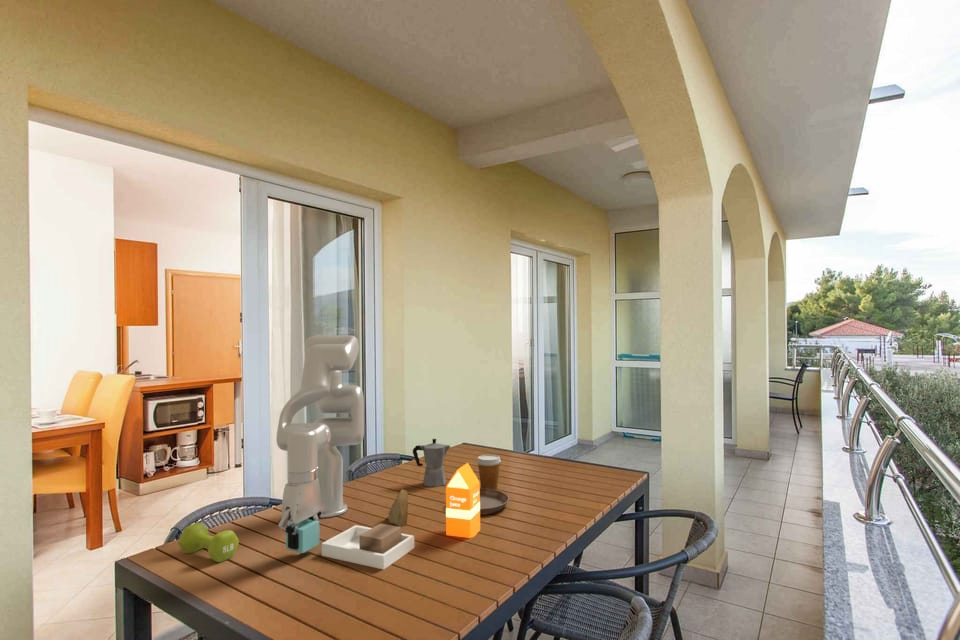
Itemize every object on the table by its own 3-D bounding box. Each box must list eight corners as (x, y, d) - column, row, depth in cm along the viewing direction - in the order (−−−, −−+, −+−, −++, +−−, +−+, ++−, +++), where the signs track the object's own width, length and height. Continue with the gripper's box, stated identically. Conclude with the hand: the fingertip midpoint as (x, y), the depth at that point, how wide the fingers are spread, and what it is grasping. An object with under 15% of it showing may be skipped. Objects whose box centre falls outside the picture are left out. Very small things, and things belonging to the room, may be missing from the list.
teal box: (285, 548, 130) (285, 526, 130) (302, 539, 135) (302, 518, 135) (302, 553, 127) (302, 530, 127) (319, 543, 133) (319, 521, 133)
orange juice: (480, 529, 149) (479, 463, 149) (470, 541, 140) (469, 470, 141) (456, 526, 151) (456, 461, 152) (445, 537, 143) (444, 468, 144)
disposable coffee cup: (476, 485, 195) (475, 454, 195) (499, 484, 195) (499, 454, 196) (478, 492, 185) (477, 460, 186) (503, 491, 186) (502, 459, 186)
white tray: (321, 558, 130) (321, 543, 130) (355, 539, 143) (355, 525, 143) (383, 572, 121) (383, 556, 122) (414, 550, 134) (414, 535, 134)
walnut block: (359, 558, 128) (359, 535, 128) (380, 545, 136) (380, 523, 136) (381, 563, 125) (381, 539, 125) (401, 549, 133) (401, 527, 133)
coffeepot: (449, 479, 204) (448, 435, 205) (452, 485, 195) (452, 440, 195) (411, 481, 200) (411, 437, 201) (413, 488, 191) (413, 442, 192)
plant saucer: (517, 513, 163) (517, 503, 163) (457, 520, 157) (457, 510, 157) (497, 495, 183) (497, 486, 183) (443, 500, 177) (443, 491, 177)
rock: (414, 522, 149) (420, 507, 159) (396, 500, 149) (404, 486, 159) (387, 542, 150) (395, 525, 160) (369, 520, 150) (379, 505, 160)
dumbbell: (241, 555, 133) (241, 528, 133) (213, 567, 126) (214, 539, 126) (203, 544, 140) (203, 518, 141) (175, 555, 133) (175, 528, 134)
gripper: (315, 465, 141) (315, 528, 141) (266, 483, 125) (266, 554, 125) (335, 468, 138) (335, 533, 138) (287, 487, 122) (288, 560, 122)
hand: (302, 542), depth 131 cm, fingers closed on teal box, 5 cm apart
